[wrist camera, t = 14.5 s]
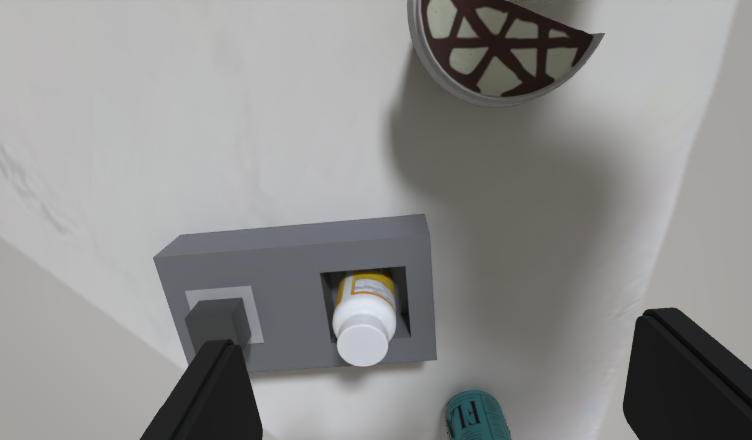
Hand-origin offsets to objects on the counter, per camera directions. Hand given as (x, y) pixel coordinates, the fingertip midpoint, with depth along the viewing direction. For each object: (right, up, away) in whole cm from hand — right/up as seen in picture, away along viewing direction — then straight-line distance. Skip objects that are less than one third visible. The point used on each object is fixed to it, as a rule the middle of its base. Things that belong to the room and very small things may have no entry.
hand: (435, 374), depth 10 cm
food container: (+6, +17, +24) cm, 30 cm away
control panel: (-8, -3, +32) cm, 33 cm away
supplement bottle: (-2, -3, +30) cm, 31 cm away
